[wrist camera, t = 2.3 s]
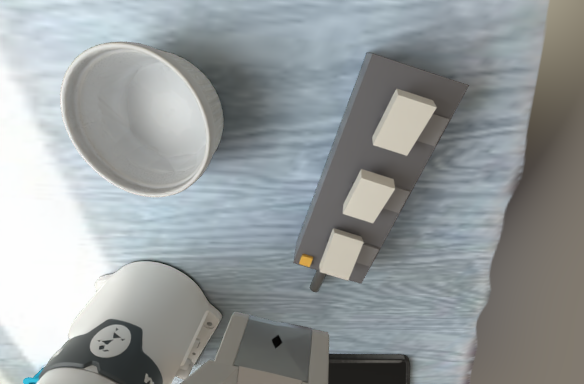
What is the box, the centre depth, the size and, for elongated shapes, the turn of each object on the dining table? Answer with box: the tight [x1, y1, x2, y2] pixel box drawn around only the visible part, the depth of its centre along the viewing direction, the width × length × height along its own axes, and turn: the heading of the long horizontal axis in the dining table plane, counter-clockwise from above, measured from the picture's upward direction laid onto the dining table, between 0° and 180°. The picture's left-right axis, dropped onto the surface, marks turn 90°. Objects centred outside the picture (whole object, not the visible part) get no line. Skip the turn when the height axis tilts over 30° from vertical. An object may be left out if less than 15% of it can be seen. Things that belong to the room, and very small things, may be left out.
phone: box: [328, 354, 410, 384], centre depth 46 cm, size 8×1×15 cm
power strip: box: [293, 53, 469, 292], centre depth 31 cm, size 27×8×5 cm, turn 164°
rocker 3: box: [372, 88, 437, 156], centre depth 24 cm, size 4×3×1 cm
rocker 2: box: [343, 169, 395, 223], centre depth 27 cm, size 4×3×1 cm
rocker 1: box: [319, 228, 364, 281], centre depth 30 cm, size 4×3×1 cm
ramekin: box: [60, 42, 224, 197], centre depth 28 cm, size 13×13×7 cm
